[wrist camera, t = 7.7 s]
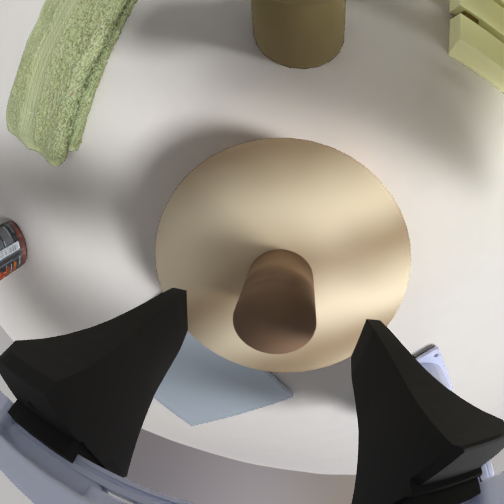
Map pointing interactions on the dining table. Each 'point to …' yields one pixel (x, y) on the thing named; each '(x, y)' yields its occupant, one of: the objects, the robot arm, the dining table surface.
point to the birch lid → (283, 253)
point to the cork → (299, 30)
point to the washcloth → (63, 73)
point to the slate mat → (214, 386)
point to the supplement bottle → (11, 249)
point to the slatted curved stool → (479, 38)
